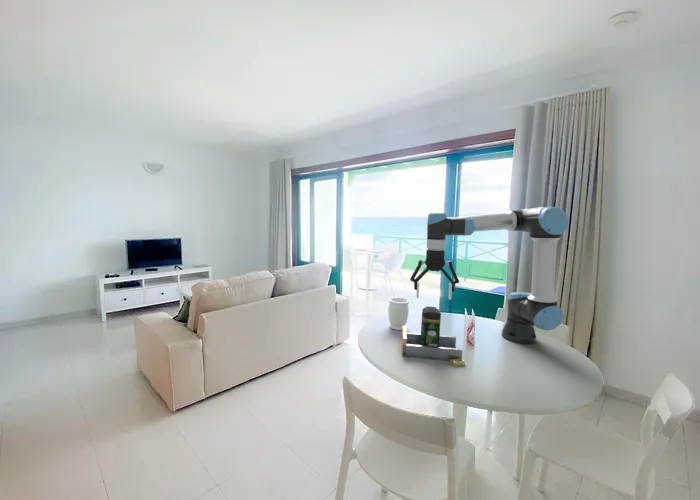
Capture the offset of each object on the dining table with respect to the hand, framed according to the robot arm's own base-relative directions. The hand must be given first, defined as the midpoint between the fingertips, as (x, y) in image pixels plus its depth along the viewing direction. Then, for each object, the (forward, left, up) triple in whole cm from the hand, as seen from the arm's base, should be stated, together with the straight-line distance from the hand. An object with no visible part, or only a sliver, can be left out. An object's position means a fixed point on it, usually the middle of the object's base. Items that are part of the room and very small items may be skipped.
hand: (433, 298), depth 133 cm
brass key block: (-10, +10, -24) cm, 28 cm away
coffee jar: (+1, 0, -23) cm, 23 cm away
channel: (0, 0, -24) cm, 24 cm away
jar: (+14, -27, -24) cm, 39 cm away
